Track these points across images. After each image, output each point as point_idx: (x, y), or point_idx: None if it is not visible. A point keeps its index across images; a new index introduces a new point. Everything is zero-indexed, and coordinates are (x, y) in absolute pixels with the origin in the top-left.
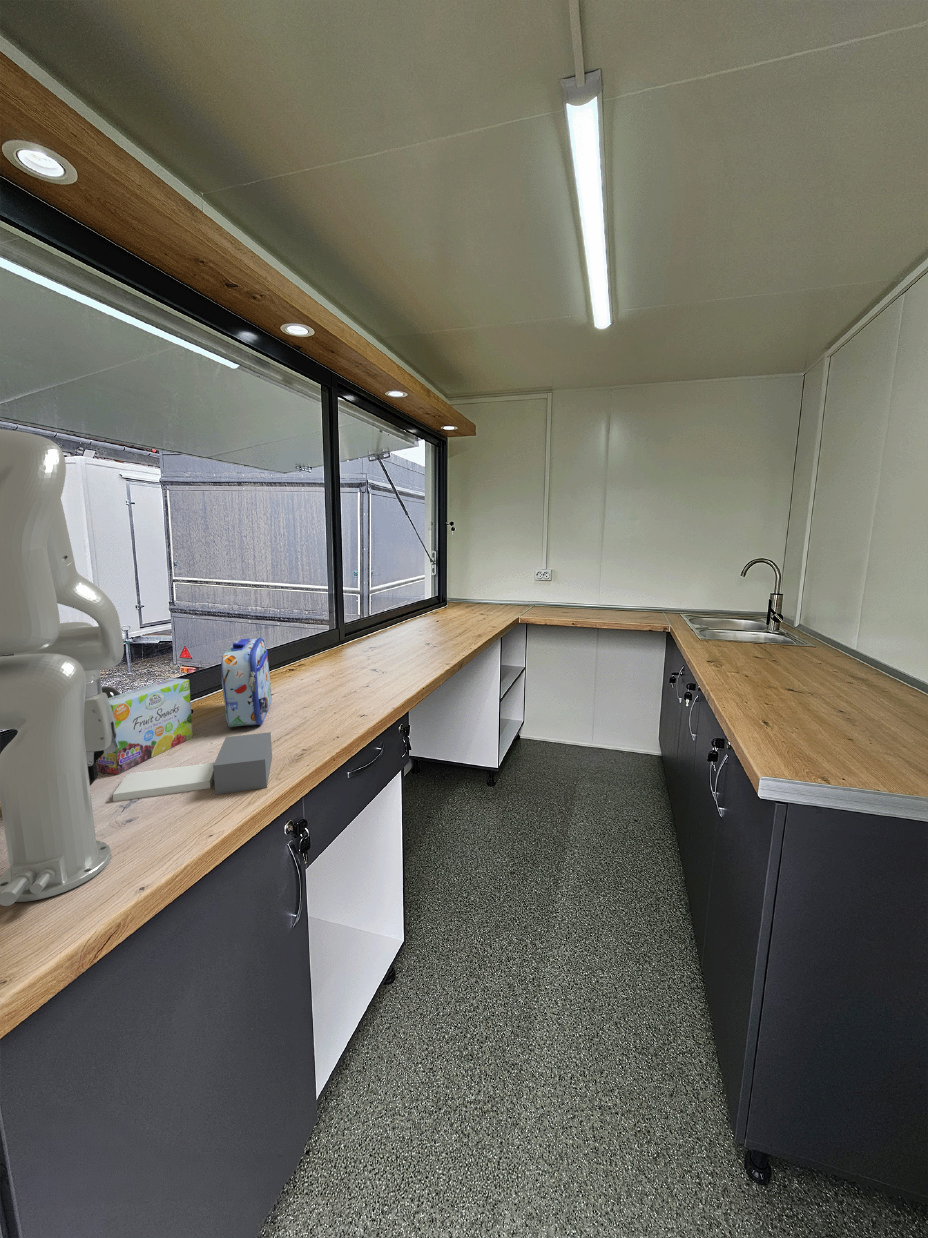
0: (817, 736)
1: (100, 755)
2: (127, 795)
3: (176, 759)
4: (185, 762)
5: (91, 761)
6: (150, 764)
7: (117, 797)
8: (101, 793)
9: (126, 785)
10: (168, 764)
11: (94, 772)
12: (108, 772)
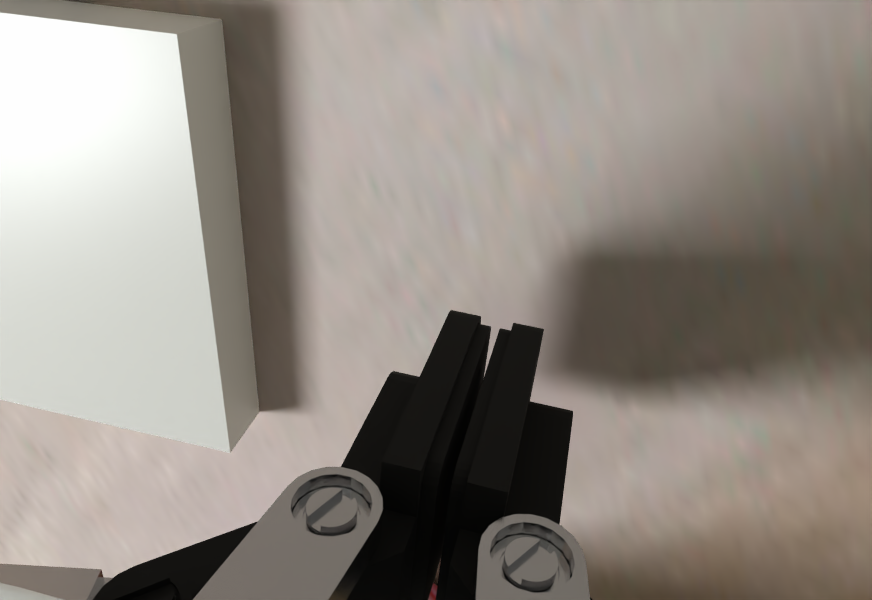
0: None
1: (153, 569)
2: (76, 13)
3: (85, 564)
4: (6, 496)
5: (306, 526)
6: None
7: (163, 20)
8: (394, 269)
9: (133, 202)
10: (100, 522)
11: (367, 426)
12: None
